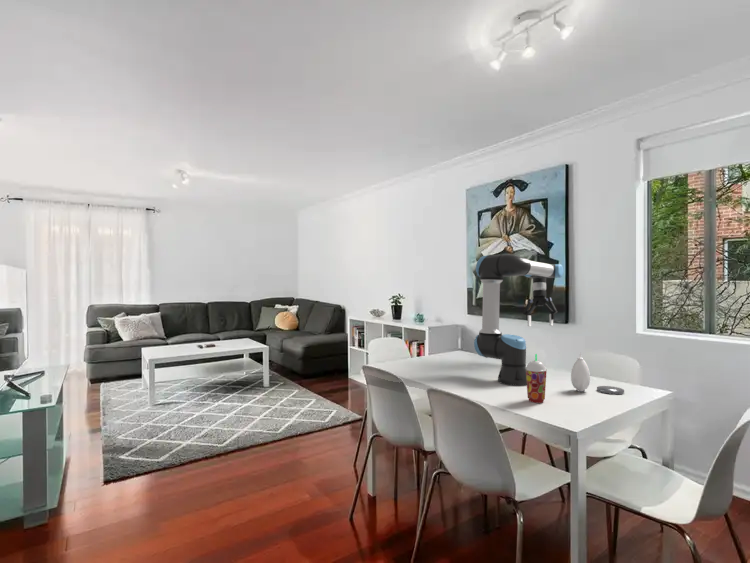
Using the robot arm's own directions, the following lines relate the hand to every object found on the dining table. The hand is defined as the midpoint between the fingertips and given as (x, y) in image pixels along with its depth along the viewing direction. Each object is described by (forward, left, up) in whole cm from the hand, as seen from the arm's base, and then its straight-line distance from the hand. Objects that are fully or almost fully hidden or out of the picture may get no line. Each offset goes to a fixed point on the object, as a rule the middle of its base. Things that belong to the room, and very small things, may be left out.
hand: (540, 325), depth 251 cm
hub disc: (-31, -47, -24) cm, 61 cm away
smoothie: (-71, -30, -25) cm, 81 cm away
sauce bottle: (-40, -37, -25) cm, 59 cm away
